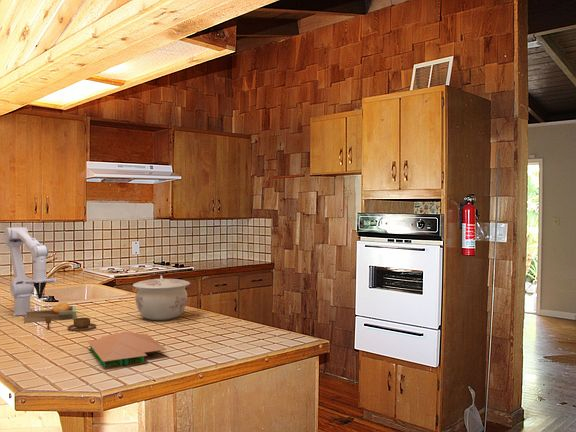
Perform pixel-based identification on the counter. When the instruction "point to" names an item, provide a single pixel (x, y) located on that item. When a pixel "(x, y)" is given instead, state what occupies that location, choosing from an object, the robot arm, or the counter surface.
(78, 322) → the place setting
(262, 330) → the counter surface
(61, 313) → the chute
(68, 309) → the fruit
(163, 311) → the chamber pot
